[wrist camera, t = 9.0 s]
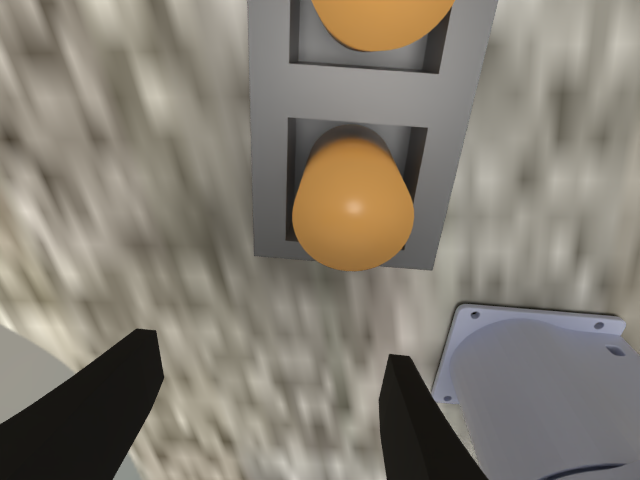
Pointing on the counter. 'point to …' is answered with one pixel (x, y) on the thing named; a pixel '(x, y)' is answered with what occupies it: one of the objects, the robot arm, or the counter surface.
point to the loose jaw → (380, 21)
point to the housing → (357, 136)
